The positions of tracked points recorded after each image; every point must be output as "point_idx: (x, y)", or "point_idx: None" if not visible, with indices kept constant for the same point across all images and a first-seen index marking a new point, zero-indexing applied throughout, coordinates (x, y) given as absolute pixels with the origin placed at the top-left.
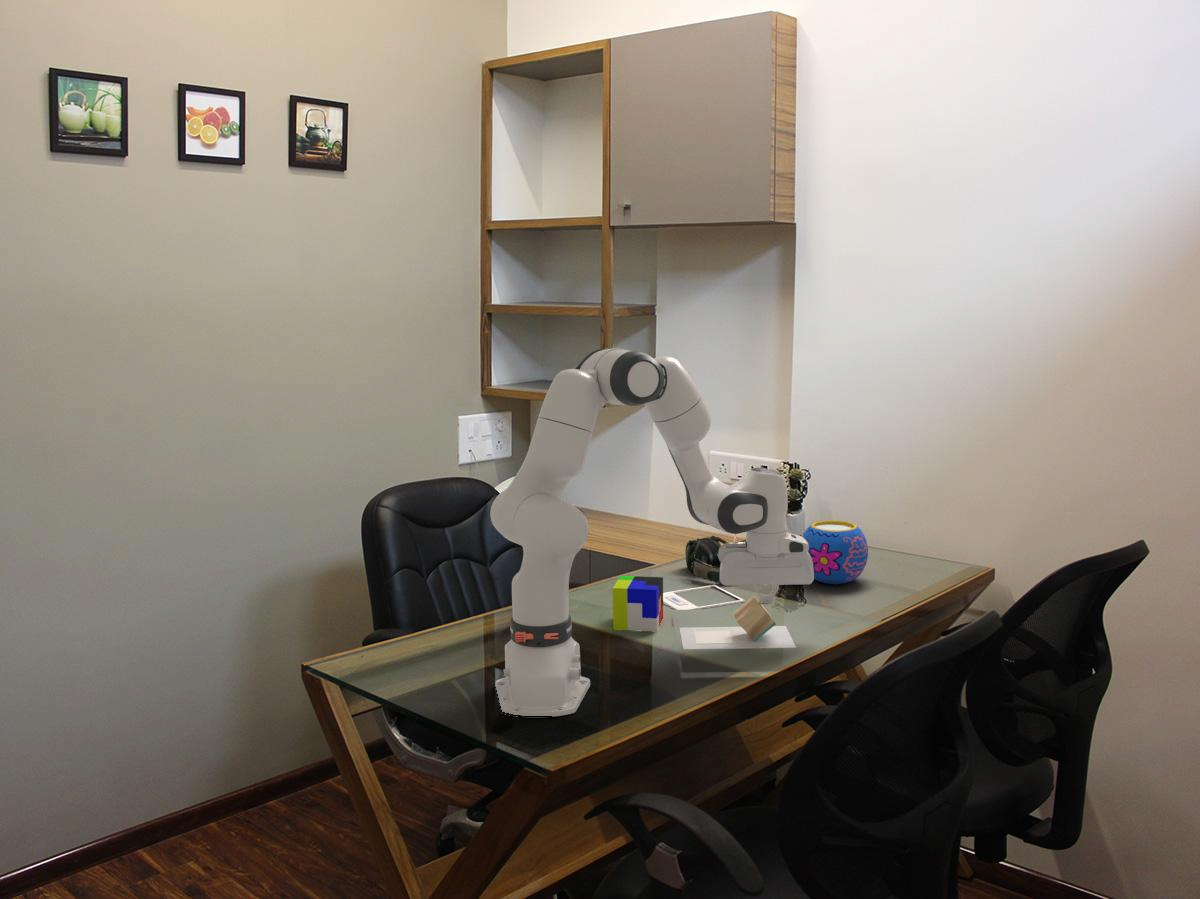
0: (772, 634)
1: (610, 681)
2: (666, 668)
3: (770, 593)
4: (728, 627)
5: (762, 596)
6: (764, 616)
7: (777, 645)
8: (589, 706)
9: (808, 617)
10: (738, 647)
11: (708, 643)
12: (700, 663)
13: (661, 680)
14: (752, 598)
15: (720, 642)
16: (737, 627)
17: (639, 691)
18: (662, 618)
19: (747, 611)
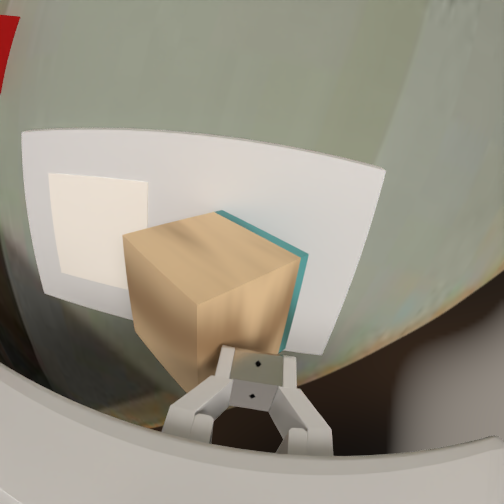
0: (299, 247)
1: (3, 345)
2: (43, 338)
3: (279, 404)
4: (151, 139)
5: (223, 407)
6: None
7: None
8: None
9: (491, 73)
10: None
11: (86, 278)
12: (88, 341)
13: (51, 370)
14: (187, 313)
15: (115, 280)
16: (185, 143)
17: (40, 382)
18: (12, 30)
19: (162, 355)
